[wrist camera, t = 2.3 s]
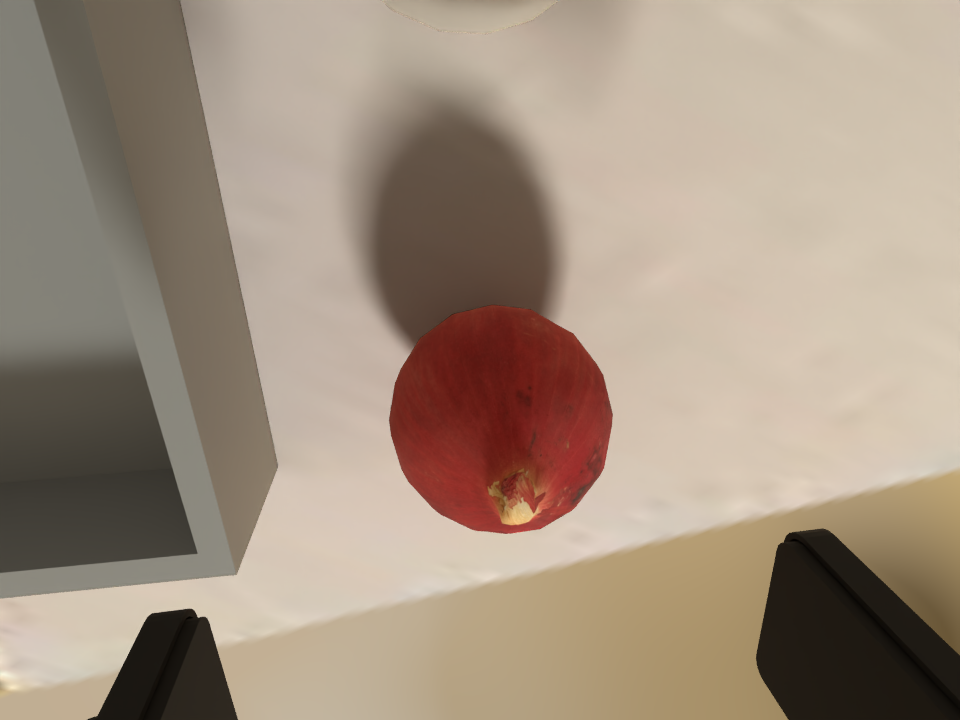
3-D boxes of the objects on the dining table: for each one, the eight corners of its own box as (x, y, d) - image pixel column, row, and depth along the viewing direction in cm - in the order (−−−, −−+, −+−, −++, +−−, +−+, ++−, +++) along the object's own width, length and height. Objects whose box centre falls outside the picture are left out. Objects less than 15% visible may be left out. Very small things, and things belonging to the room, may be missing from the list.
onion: (607, 331, 19) (726, 471, 12) (511, 463, 21) (562, 657, 13) (455, 239, 17) (482, 335, 10) (363, 391, 19) (330, 567, 12)
